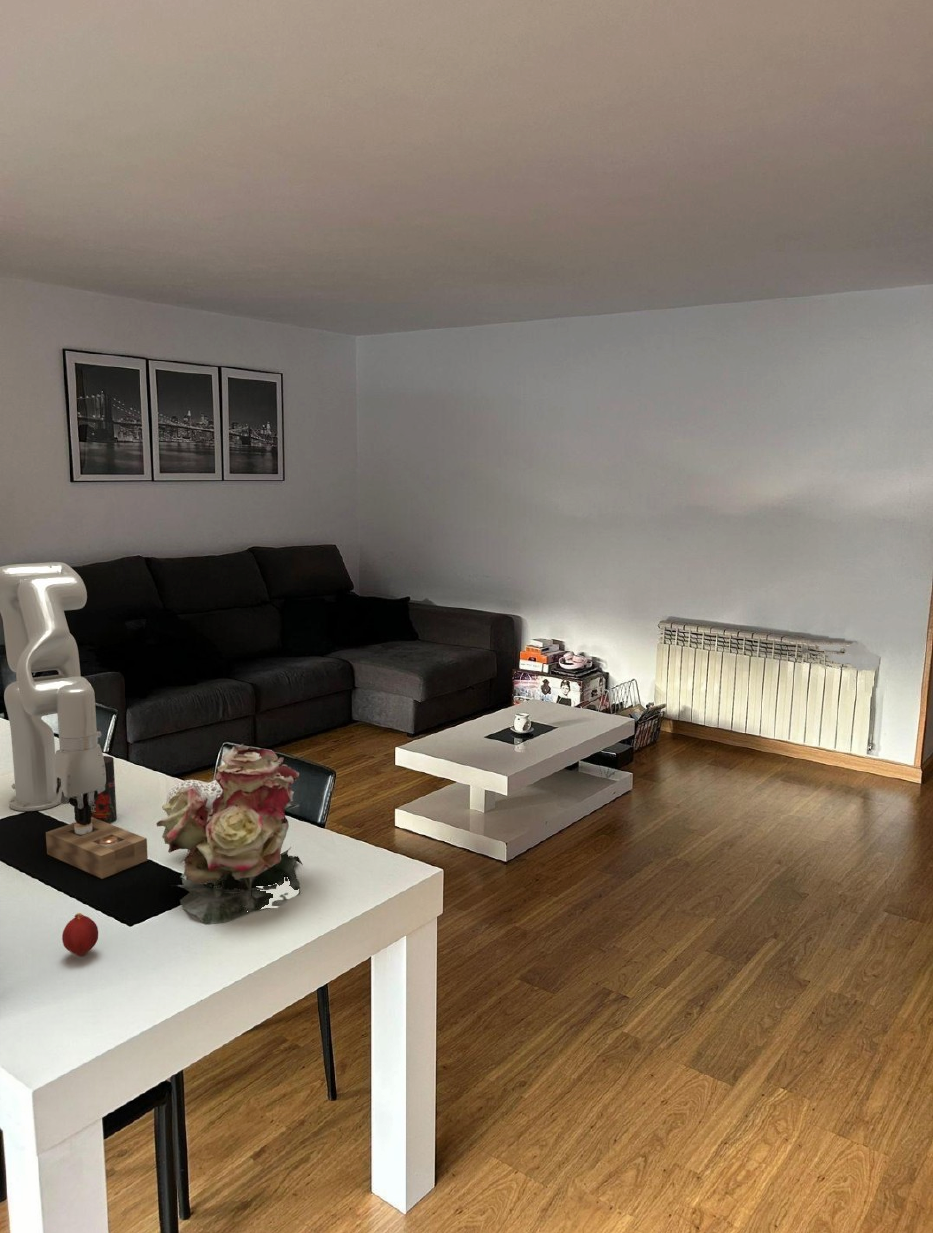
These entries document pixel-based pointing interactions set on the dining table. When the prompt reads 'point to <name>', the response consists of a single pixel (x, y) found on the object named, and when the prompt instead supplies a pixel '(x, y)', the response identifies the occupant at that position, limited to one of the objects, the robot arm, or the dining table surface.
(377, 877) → the dining table surface
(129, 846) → the socket block
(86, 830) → the plunger
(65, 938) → the onion
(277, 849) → the rose bouquet
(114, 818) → the deodorant
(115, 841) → the plunger
